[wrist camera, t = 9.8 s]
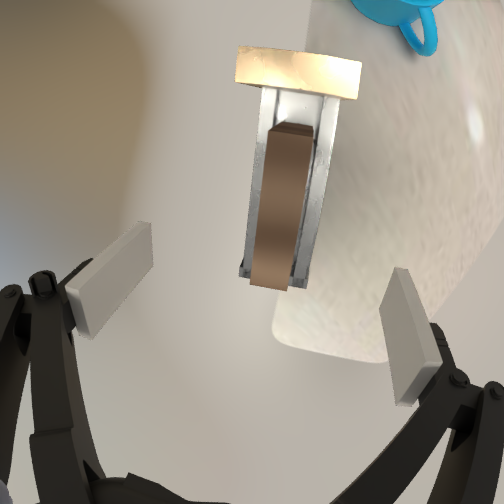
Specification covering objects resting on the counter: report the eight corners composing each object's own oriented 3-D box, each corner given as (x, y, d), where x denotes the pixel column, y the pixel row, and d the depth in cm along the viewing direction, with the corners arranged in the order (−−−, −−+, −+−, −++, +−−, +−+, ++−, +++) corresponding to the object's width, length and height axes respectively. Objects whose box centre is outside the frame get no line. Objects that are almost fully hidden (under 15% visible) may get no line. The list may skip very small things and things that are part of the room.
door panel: (281, 121, 28) (268, 130, 20) (312, 126, 28) (313, 137, 19) (266, 233, 34) (249, 284, 25) (294, 238, 34) (286, 291, 25)
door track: (265, 65, 27) (238, 45, 16) (342, 76, 26) (361, 62, 15) (243, 264, 37) (215, 331, 27) (306, 275, 36) (301, 348, 26)
